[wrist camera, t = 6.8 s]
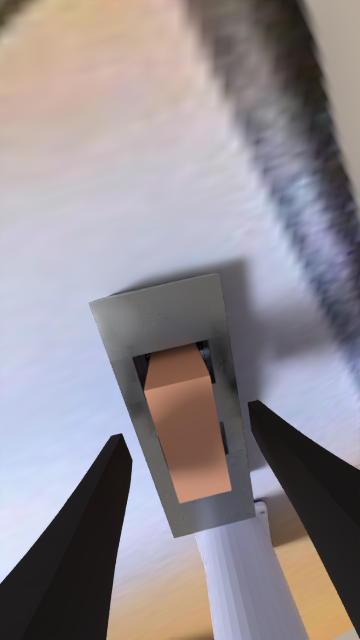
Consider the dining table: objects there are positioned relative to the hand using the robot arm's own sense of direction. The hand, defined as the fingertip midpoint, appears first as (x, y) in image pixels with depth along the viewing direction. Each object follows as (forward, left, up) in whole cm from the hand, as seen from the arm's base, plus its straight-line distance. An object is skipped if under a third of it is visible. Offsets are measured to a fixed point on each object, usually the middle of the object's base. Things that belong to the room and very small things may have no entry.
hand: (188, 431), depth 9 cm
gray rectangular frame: (-2, 0, -4) cm, 5 cm away
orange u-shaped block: (0, 0, -4) cm, 5 cm away
